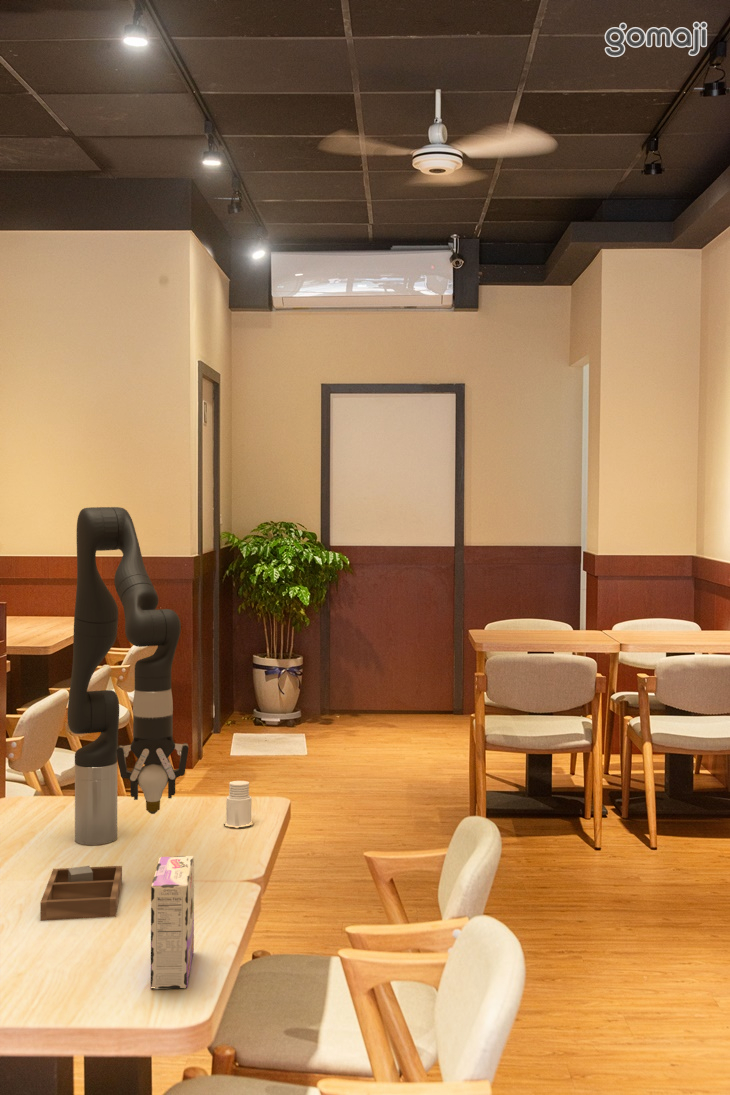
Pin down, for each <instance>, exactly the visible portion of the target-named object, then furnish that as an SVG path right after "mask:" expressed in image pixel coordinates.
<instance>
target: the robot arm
mask: <svg viewBox="0 0 730 1095" xmlns="http://www.w3.org/2000/svg"><path fill="white" fill-rule="evenodd" d="M117 550H118V551H119V550H120V551H121V552H122V557H121V560H120V562H119V563H118V566H117V568H116V570H115V573H114V581H113V583H114V588H115V591H116V593H117V596H118V598H119V600H120V602H121V604H122V607H123V613H124V614H123V615H124V625H125V626H124V632H125V638H126V639H127V641H128V642H129V643H130V644H131V645H132V646H134V647H138V648H139V647H140V648H141V647H156V649H155V652H153V654H152V655H150V656H147V657H143V658H141V659H139V660H137V661H136V662H135V664H134V693H133V700H132V702H133V703H132V715H133V716H132V717H133V718H132V720H133V721H132V723H133V724H132V741H131V743H130V744H127V745H121V744H120V745H119V727H120V726H119V724H120V701H119V697H118V695H117V693H116V692H115V691H114V690H111V689H106V690H105V689H104V690H89V691H88V688H89V685H90V681H91V679H92V677H93V675H94V673H95V671H96V669H97V668H98V666H99V665H100V664H101V663H102V661H103V660H104V658H106V656H107V654H109V652H110V650H111V649H112V647H113V646H114V644H115V642H116V641H117V637H118V627H119V626H118V625H119V607H118V604H117V602H116V600H115V598H114V596H113V594H112V593H111V591H110V590H109V588H108V587H107V585H106V583H105V581H103V578H102V577H101V574H100V572H99V570H98V566H97V559H96V553H97V551H98V552H100V551H117ZM142 555H143V554H142V552H141V547H140V544H139V539H138V536H137V531H136V528H135V525H134V521H133V518H132V517H131V514H130V513H129V512H128V510H126V509H125V508H124V507H119V506H111V507H110V506H107V507H105V506H100V507H98V506H96V507H95V506H94V507H84V508H82V509H81V510H80V511H79V513H78V515H77V522H76V567H77V568H76V579H77V580H76V592H75V593H76V595H75V606H74V615H73V616H74V618H73V647H72V649H73V652H72V653H73V654H72V655H73V656H72V670H71V677H70V686H69V691H68V692H69V696H68V702H67V724H68V727H69V730H70V732H71V733H73V734H76V735H85V734H97V733H100V734H99V736H98V737H97V738H96V739H95V740H93V741H92V742H89V743H88V744H86V745H84V746H82V747H80V748H78V749H77V750H76V751H75V753H74V841H75V843H77V844H79V845H85V846H86V845H87V846H96V845H97V846H99V845H105V844H109V843H112V842H114V841H115V840H117V839H118V768H119V773H120V774H119V775H120V777H121V779H127V780H129V782H130V785H129V786H130V789H129V791H130V796H131V798H133V800H134V801H137V800H138V799H139V784H138V774H139V772H140V770H141V768H142V767H143V766H144V765H151V764H155V765H161V764H162V765H163V767H164V769H165V770H166V772H167V774H168V776H169V779H168V783H167V799H172V798H173V796H175V795H176V780H177V779H178V778H179V777H182V776H184V775H185V774H186V773H185V772H186V767H187V761H188V755H189V744H188V743H187V742H184V743H175V741H174V740H175V739H174V738H173V735H174V734H173V723H174V721H173V716H174V715H173V714H174V713H173V711H174V706H173V705H174V704H173V700H174V699H173V693H172V667H173V664H174V663H173V662H174V659H175V658H174V657H175V653H176V649H177V646H178V643H179V640H180V636H181V628H182V625H181V624H182V623H181V620H180V617H179V615H178V614H177V612H176V611H175V610H173V609H170V608H163V609H162V608H160V609H157V607H158V605H159V596H158V593H157V591H156V589H155V587H154V584H153V582H152V581H151V579H150V576H149V574H148V571H147V570H146V566H145V564H144V560H143V556H142ZM174 750H176V753H177V755H178V756H180V757H179V764H178V768H177V769H174V766H173V765H172V762H171V760H170V758H169V757H170V756H171V754H172V753H173V752H174ZM129 752H132V753H133V755H134V756H135V757H136V759H137V760H136V762H135V764H134V766H133V769H132V771H131V770H128V766H127V760H126V758H128V756H129Z"/></svg>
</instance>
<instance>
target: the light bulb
mask: <svg viewBox="0 0 730 1095" xmlns="http://www.w3.org/2000/svg"><path fill="white" fill-rule="evenodd" d="M137 779H138V787H140V789H141V791H142V792H143V793H142V794H143V796H144V800H145V810H146V811H147V812H148V813H149V814H151V815H155V814H156V813H157V812H158V811H160V809H161V799H162V796H163V793H164V790H165V789H166V787H167V786H168V779H169V776H168V774H167V772H166V770H165V769H164V767H163V764H161V765H155V764H151V765H144V764H143V766H142V768H141V770H140V772H139V774H138V776H137Z"/></svg>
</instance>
